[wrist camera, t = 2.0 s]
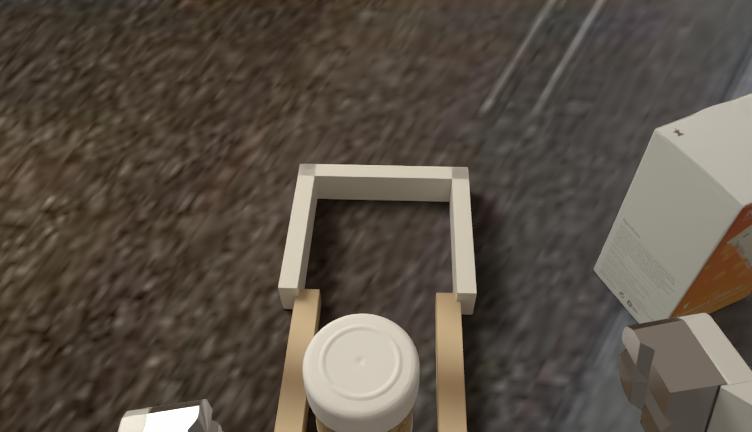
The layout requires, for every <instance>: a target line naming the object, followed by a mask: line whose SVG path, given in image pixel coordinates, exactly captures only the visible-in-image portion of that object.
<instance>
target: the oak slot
mask: <svg viewBox="0 0 752 432" xmlns="http://www.w3.org/2000/svg"><path fill="white" fill-rule="evenodd" d="M321 304H322V302H321V295H320V289H300V291H299V296H295V301H294V308H293V314H292V321H291V327H290V334H289V340H288V347H287V353H286V360H285V366H284V373H283V379H282V386H281V392H280V399H279V405H278V412H277V418H276V425H275V431H274V432H306V429H307V420H308V412H309V402H308V400H307V396H306V391H305V386H304V380H303V359H304V355H305V352H306V350H307V348H308V345H309V344H310V342H311V340H312V339H313V337H314V336H315V335H316V334H317V333H318V329H319V321H320V312H321ZM435 329H436V385H437V432H467V424H466V403H465V383H464V363H463V342H462V322H461V302H460V301H456V293H436V302H435Z"/></svg>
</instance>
